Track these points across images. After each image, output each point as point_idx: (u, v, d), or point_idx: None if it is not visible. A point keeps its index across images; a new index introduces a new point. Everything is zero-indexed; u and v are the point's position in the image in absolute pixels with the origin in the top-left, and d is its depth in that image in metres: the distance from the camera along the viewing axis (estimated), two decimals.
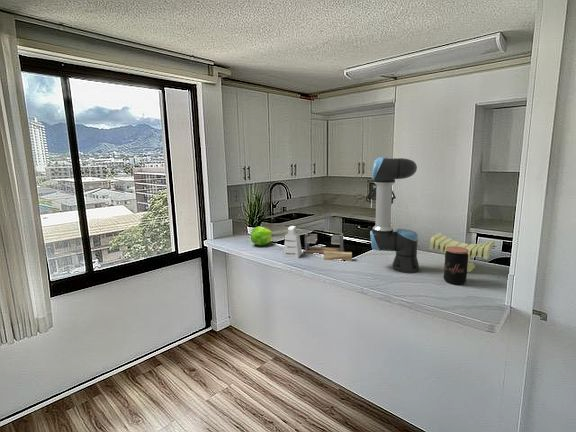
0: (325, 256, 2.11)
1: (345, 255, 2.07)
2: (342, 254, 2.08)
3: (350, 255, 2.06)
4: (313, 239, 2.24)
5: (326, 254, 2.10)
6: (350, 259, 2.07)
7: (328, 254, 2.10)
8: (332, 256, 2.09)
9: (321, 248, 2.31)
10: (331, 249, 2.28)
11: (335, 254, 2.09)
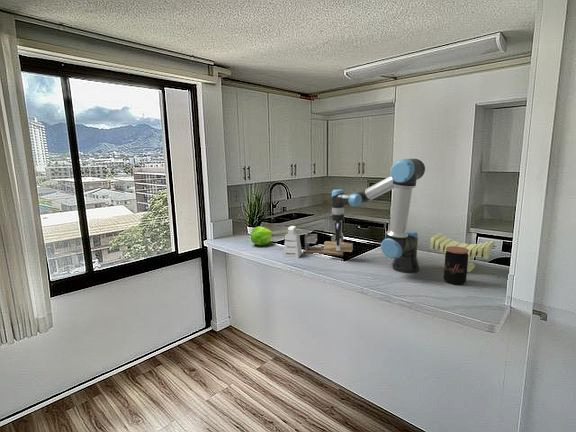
0: (325, 246, 2.10)
1: (345, 245, 2.05)
2: (342, 244, 2.06)
3: (350, 245, 2.04)
4: (313, 239, 2.24)
5: (326, 244, 2.09)
6: (350, 250, 2.04)
7: (328, 244, 2.09)
8: (332, 246, 2.08)
9: (321, 248, 2.31)
10: None
11: (335, 244, 2.07)
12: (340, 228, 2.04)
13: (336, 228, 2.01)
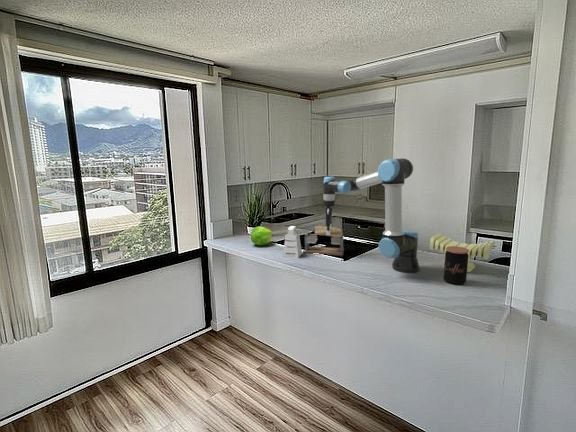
0: (316, 231, 2.19)
1: (335, 230, 2.15)
2: (332, 229, 2.15)
3: (340, 230, 2.13)
4: (313, 239, 2.24)
5: (317, 229, 2.19)
6: (340, 234, 2.14)
7: (319, 229, 2.18)
8: (323, 231, 2.18)
9: (321, 248, 2.31)
10: (331, 249, 2.28)
11: None
12: (330, 214, 2.13)
13: (327, 213, 2.10)
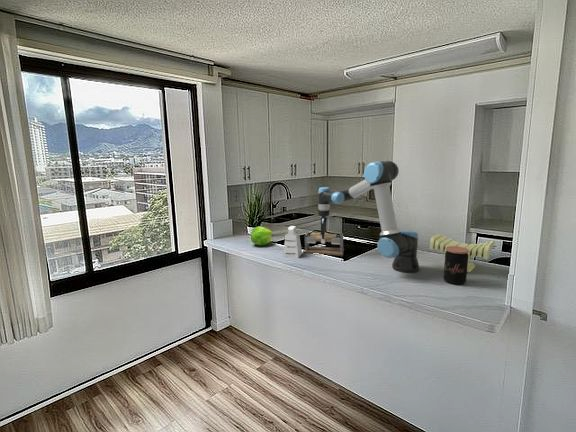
0: None
1: (330, 236, 2.22)
2: (327, 235, 2.23)
3: (334, 236, 2.21)
4: (313, 239, 2.24)
5: (313, 235, 2.26)
6: None
7: (314, 235, 2.26)
8: (318, 237, 2.25)
9: (321, 248, 2.31)
10: (331, 249, 2.28)
11: None
12: (325, 223, 2.21)
13: (321, 223, 2.18)
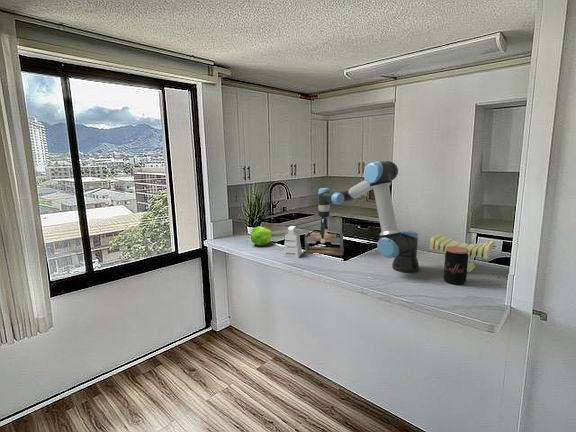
0: None
1: (330, 236, 2.22)
2: (327, 235, 2.23)
3: (334, 236, 2.21)
4: (313, 239, 2.24)
5: (313, 235, 2.26)
6: None
7: (314, 235, 2.26)
8: (318, 237, 2.25)
9: (321, 248, 2.31)
10: (331, 249, 2.28)
11: None
12: (325, 223, 2.20)
13: (321, 221, 2.17)
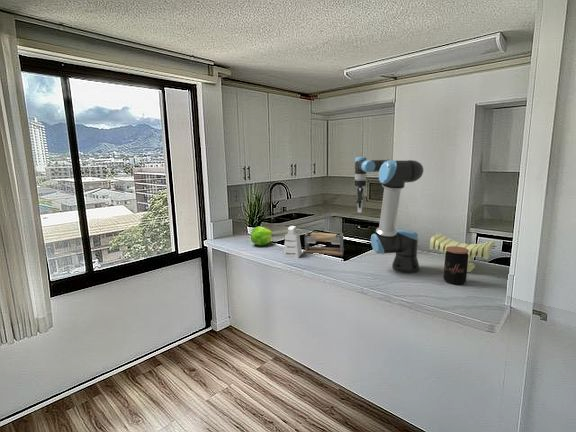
0: None
1: (330, 236, 2.22)
2: (327, 235, 2.23)
3: (334, 236, 2.21)
4: (313, 239, 2.24)
5: (313, 235, 2.26)
6: None
7: (314, 235, 2.26)
8: (318, 237, 2.25)
9: (321, 248, 2.31)
10: (331, 249, 2.28)
11: (321, 235, 2.24)
12: (362, 192, 2.17)
13: (359, 190, 2.14)
